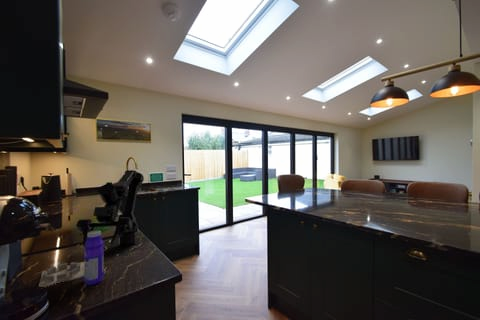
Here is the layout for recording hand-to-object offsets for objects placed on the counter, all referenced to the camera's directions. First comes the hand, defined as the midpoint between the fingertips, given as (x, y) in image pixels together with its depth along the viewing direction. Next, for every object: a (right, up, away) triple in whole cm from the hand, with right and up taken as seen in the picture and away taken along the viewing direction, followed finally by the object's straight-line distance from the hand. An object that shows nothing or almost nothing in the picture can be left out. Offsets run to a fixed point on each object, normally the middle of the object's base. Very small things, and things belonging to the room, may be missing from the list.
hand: (98, 245), depth 77 cm
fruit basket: (-36, -13, +55) cm, 67 cm away
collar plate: (-12, -12, +2) cm, 17 cm away
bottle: (+1, -12, -3) cm, 12 cm away
